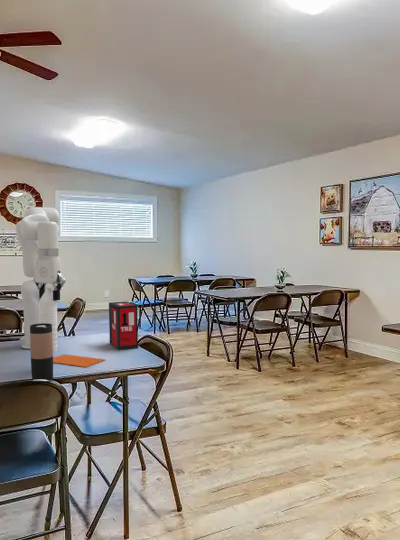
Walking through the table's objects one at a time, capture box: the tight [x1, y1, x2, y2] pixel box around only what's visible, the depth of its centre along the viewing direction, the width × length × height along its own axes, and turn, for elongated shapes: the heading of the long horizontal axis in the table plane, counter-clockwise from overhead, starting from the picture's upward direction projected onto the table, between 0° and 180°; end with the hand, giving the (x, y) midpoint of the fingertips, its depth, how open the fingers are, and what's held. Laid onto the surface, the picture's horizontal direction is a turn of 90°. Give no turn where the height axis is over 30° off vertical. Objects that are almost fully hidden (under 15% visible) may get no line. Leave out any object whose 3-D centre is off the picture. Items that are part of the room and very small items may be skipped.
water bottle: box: [39, 286, 64, 354], centre depth 181 cm, size 9×6×25 cm
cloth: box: [53, 354, 106, 368], centre depth 195 cm, size 22×12×1 cm, turn 64°
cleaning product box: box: [108, 300, 139, 351], centre depth 222 cm, size 16×9×20 cm, turn 26°
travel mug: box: [29, 323, 54, 381], centre depth 167 cm, size 8×8×20 cm
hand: (49, 299), depth 181 cm, fingers closed on water bottle, 6 cm apart
